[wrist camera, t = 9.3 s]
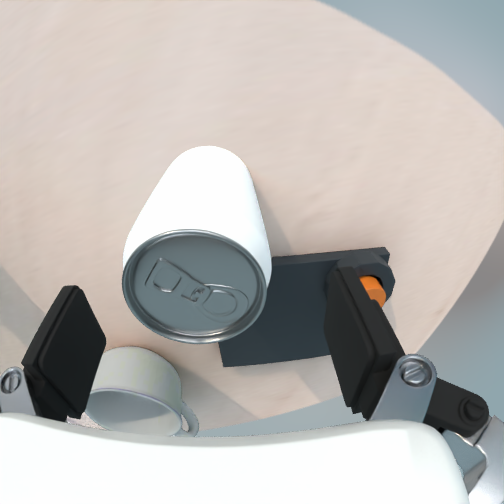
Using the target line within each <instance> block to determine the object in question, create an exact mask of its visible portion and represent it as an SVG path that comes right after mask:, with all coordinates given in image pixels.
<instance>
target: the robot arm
mask: <svg viewBox="0 0 504 504" xmlns="http://www.w3.org/2000/svg"><path fill="white" fill-rule="evenodd" d="M323 329H324V335H325V338H326V341H327V344H328V347H329V351H330V354H331V357H332V360H333V364H334V367H335V370H336V374H337V377H338V380H339V384H340V387H341V391H342V394H343V397H344V401H345V404H346V406H347V407H351V409H352V412H353V414H356V413H360V412H362V415H363V418H365V419H366V420H365V421H363V422H356V423H350V424H343V425H336V426H330V427H324V428H318V429H311V430H303V431H295V432H286V433H277V434H266V435H252V436H233V437H178V436H159V435H146V434H135V433H126V432H118V431H110V430H103V429H97V428H91V427H85V426H80V425H75V424H70V423H68V422H67V420H66V419H67V415H68V416H69V417H70V418H76V419H81V415H82V413H83V412H85V410H86V406H87V403H88V399H89V396H90V392H91V389H92V386H93V382H94V379H95V376H96V373H97V370H98V367H99V364H100V361H101V358H102V355H103V352H104V349H105V346H106V337H105V335H104V333H103V331H102V329H101V327H100V325H99V323H98V321H97V319H96V317H95V315H94V313H93V311H92V309H91V307H90V305H89V303H88V301H87V298H86V296H85V294H84V292H83V290H82V289H80V288H79V287H78V286H76V285H73V286H64V287H63V288H62V289H61V291H60V293H59V294H58V296H57V298H56V299H55V301H54V303H53V304H52V306H51V308H50V309H49V311H48V313H47V315H46V316H45V318H44V320H43V322H42V323H41V325H40V327H39V329H38V331H37V333H36V334H35V336H34V338H33V340H32V342H31V344H30V346H29V348H28V350H27V352H26V354H25V356H24V358H23V360H22V362H21V364H22V365H23V366H24V369H23V370H22V369H21V368H19V367H11V368H8V369H7V370H6V371H4V372H3V373H2V375H1V376H0V504H502V503H503V502H504V422H502V421H501V420H500V419H499V418H497V417H496V416H495V415H494V416H493V417H491V416H490V415H489V409H488V406H487V404H486V402H485V401H484V399H483V398H482V397H480V396H478V395H477V394H474V393H472V392H470V391H467V390H465V389H463V388H460V387H458V386H455V385H453V384H451V383H448V382H446V381H444V380H441V379H439V378H437V373H436V369H435V366H434V365H433V363H432V362H431V361H430V360H429V359H428V358H426V357H424V356H422V355H418V354H408V355H405V353H404V351H403V349H402V347H401V345H400V343H399V341H398V339H397V337H396V335H395V333H394V331H393V329H392V327H391V325H390V323H389V321H388V319H387V318H386V316H385V314H384V312H383V310H382V308H381V306H380V305H379V303H378V302H377V300H375V299H372V300H371V299H370V297H369V295H368V293H367V291H366V289H365V288H364V286H363V284H362V282H361V280H360V278H359V277H358V275H357V273H356V271H355V270H354V268H353V267H352V266H345V267H337V268H336V270H335V272H331V275H330V282H329V290H328V297H327V304H326V311H325V318H324V324H323ZM455 459H456V460H455ZM458 465H459V466H460V467H461V469H462V470H463V474H464V478H462V475H461V472H460V469H459V467H458Z"/></svg>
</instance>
